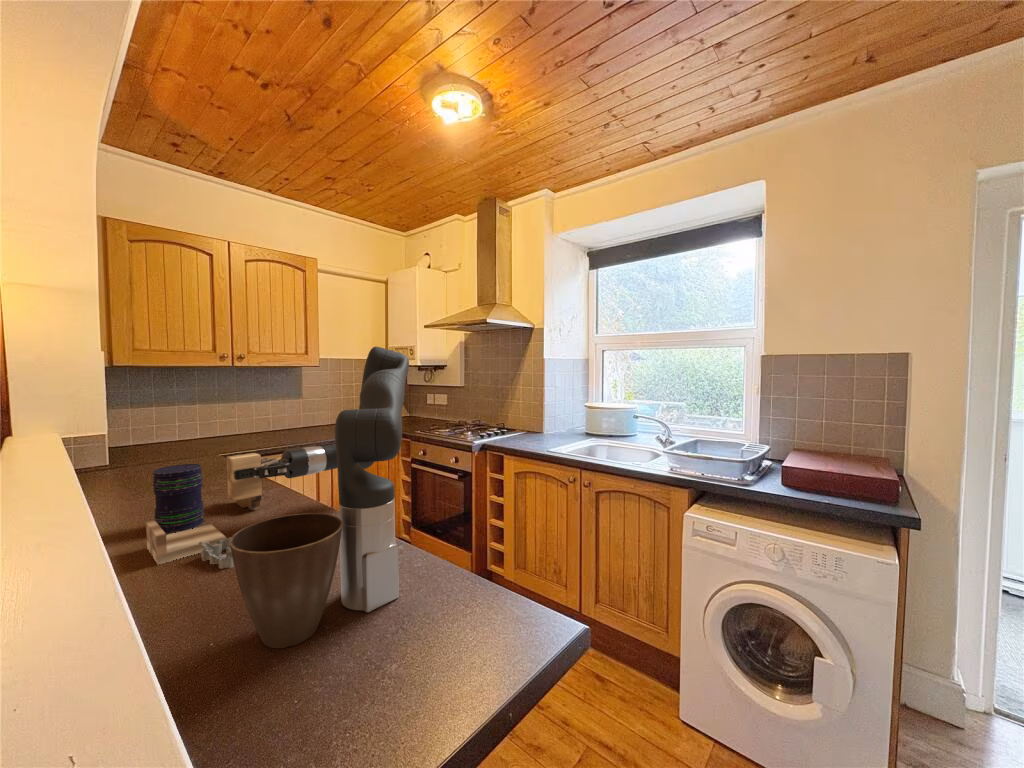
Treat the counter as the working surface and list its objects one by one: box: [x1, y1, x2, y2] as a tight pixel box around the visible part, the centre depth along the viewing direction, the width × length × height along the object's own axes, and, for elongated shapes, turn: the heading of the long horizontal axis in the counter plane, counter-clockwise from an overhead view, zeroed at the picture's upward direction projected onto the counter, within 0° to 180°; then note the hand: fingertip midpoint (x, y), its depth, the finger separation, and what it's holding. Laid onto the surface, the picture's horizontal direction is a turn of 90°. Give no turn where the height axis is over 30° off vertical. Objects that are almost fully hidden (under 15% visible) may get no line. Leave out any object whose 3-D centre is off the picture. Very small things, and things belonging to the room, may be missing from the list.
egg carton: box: [199, 536, 235, 570], centre depth 88 cm, size 11×8×4 cm
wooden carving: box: [235, 495, 262, 510], centre depth 121 cm, size 16×5×10 cm, turn 58°
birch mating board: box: [145, 519, 227, 566], centre depth 94 cm, size 12×12×6 cm
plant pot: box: [230, 512, 342, 649], centre depth 63 cm, size 15×15×16 cm
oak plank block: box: [226, 452, 263, 502], centre depth 102 cm, size 4×6×10 cm
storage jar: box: [152, 463, 205, 534], centre depth 106 cm, size 10×10×15 cm
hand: (231, 473), depth 100 cm, fingers closed on oak plank block, 4 cm apart
